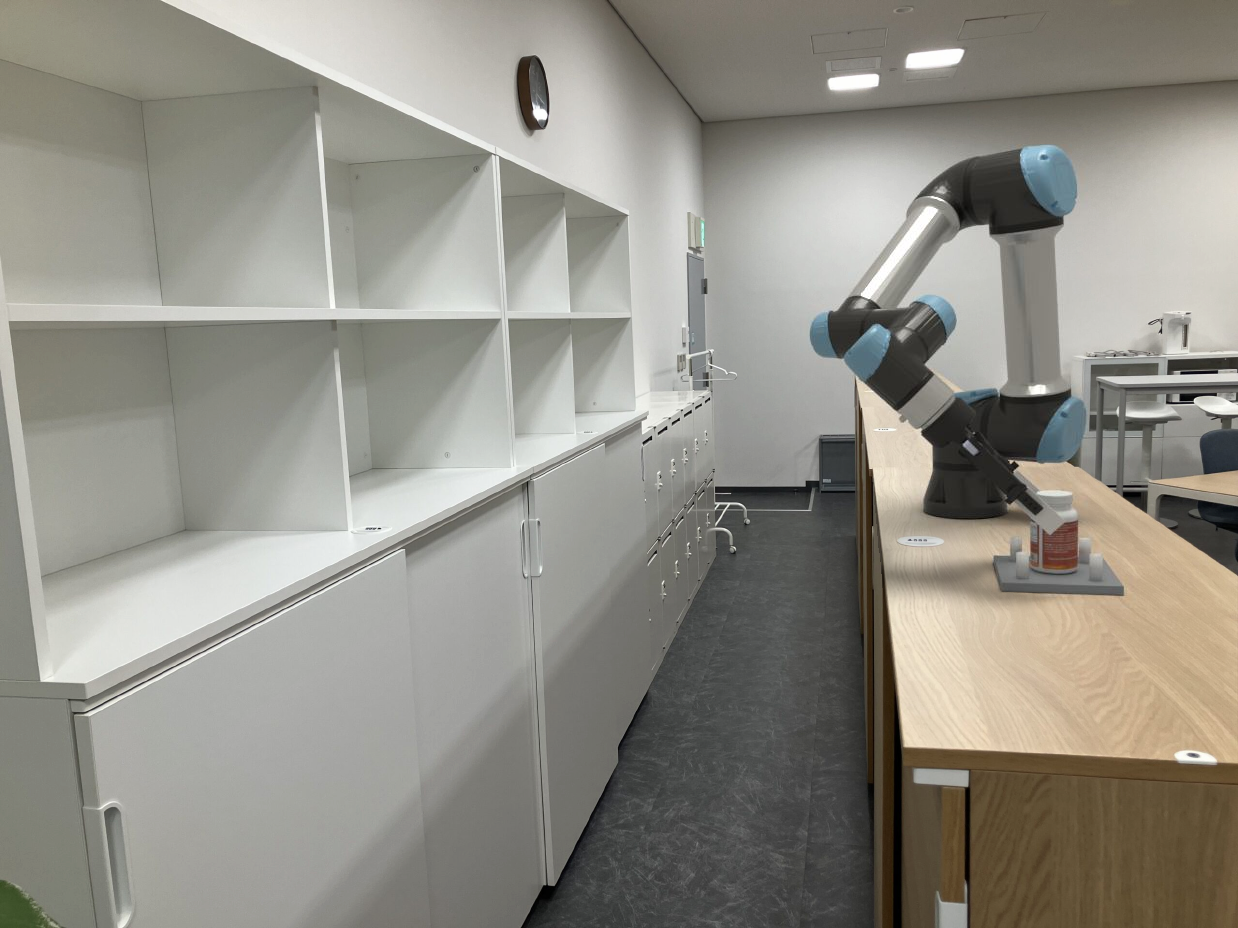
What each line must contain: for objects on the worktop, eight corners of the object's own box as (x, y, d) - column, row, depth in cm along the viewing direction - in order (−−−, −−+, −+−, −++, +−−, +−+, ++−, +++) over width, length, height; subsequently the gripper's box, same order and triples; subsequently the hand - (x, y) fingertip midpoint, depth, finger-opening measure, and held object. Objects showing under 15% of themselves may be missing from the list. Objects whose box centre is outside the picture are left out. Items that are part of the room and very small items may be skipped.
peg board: (993, 562, 142) (993, 532, 141) (1102, 565, 137) (1103, 534, 137) (1001, 591, 128) (1001, 557, 127) (1123, 595, 123) (1124, 560, 123)
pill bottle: (1086, 569, 132) (1088, 492, 130) (1061, 577, 128) (1063, 498, 127) (1045, 561, 137) (1046, 487, 135) (1020, 569, 133) (1021, 493, 132)
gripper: (917, 421, 146) (1020, 516, 144) (918, 444, 123) (1041, 557, 121) (953, 386, 144) (1058, 482, 142) (961, 403, 120) (1087, 517, 118)
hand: (1050, 517), depth 131 cm, fingers open, 13 cm apart
